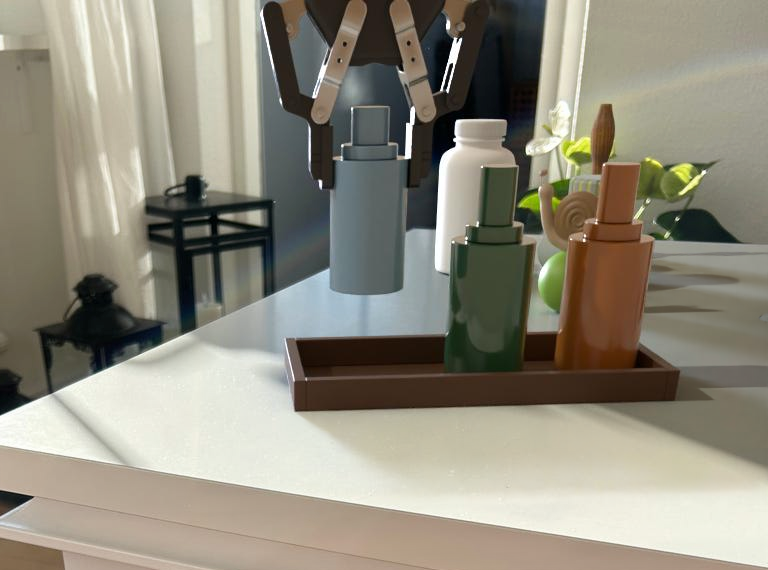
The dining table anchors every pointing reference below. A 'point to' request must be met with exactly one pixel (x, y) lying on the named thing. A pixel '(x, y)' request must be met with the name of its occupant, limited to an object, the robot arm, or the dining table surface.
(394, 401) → the tray
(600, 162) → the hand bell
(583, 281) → the amber bottle
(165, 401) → the dining table surface
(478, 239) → the green bottle
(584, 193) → the snail figurine
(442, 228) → the pill bottle
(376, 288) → the blue bottle
